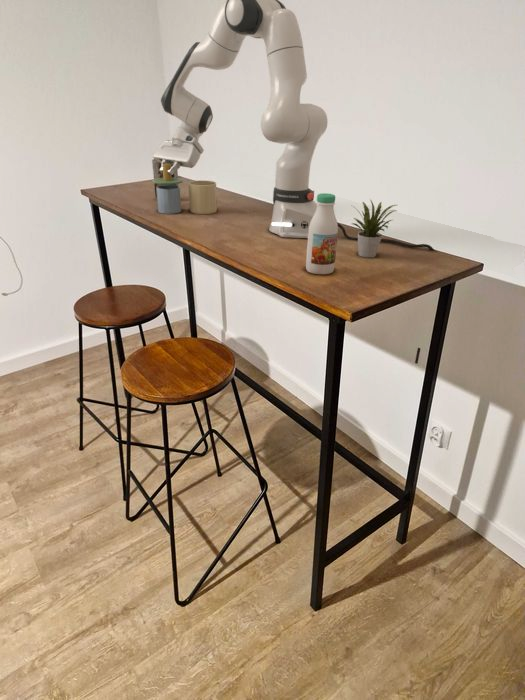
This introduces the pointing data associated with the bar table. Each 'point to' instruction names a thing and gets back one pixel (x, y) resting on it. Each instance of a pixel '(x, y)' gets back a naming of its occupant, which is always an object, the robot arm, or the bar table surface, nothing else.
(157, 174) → the coffee box
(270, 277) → the bar table surface
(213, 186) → the wooden container
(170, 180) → the lid
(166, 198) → the cup
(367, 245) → the house plant
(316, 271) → the milk bottle
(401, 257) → the bar table surface
